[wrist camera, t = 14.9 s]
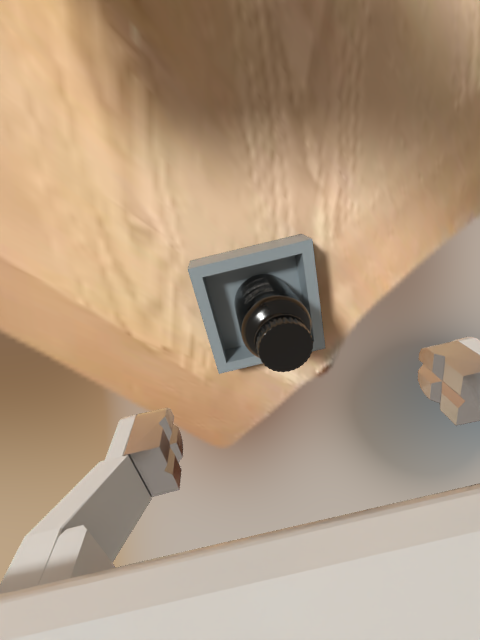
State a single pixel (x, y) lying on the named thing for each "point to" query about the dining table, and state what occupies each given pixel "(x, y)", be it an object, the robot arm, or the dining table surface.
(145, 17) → the dining table surface
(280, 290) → the supplement bottle
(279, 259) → the tray
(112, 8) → the dining table surface
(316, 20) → the dining table surface
